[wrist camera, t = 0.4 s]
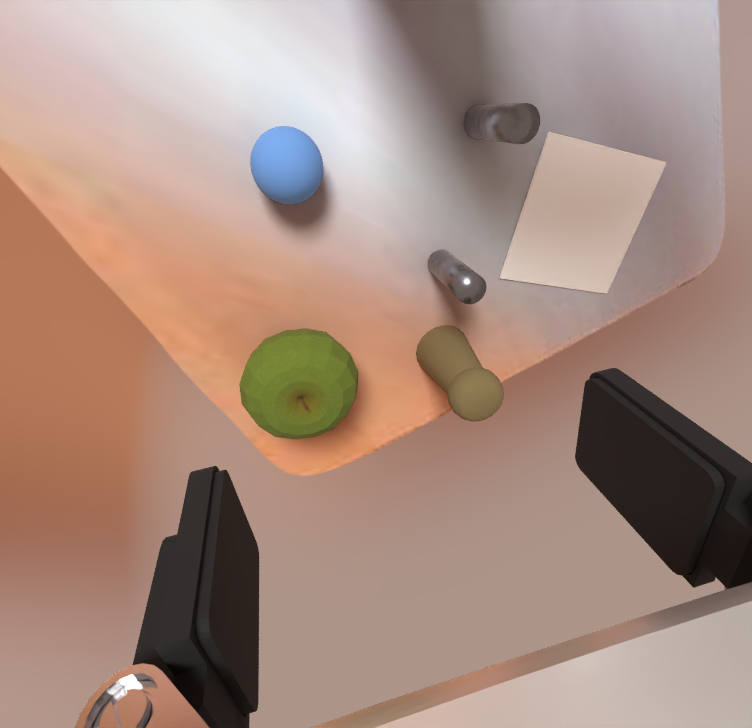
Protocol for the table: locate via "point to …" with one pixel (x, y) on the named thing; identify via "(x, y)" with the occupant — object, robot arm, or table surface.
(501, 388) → the olive pawn shape
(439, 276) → the post
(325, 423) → the apple
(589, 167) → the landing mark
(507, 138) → the post
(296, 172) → the ball
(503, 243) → the table surface
